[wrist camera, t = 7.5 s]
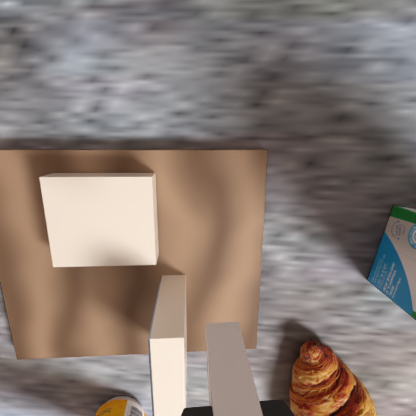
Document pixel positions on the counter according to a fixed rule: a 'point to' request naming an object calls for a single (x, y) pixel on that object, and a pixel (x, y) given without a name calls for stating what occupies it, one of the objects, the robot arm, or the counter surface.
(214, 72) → the counter surface
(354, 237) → the counter surface
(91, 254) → the tile
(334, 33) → the counter surface
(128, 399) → the beer can
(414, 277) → the milk carton
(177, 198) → the board
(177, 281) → the tile
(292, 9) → the counter surface
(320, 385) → the croissant
